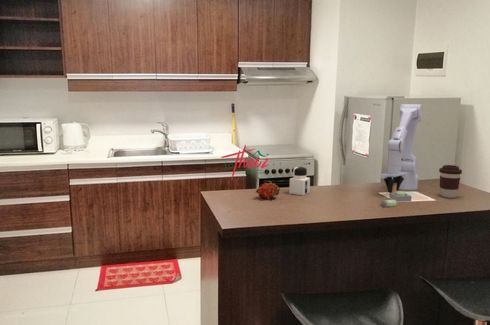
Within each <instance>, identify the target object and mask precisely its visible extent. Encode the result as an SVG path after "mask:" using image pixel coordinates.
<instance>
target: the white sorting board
mask: <svg viewBox="0 0 490 325" xmlns="http://www.w3.org/2000/svg"><path fill="white" fill-rule="evenodd" d="M404 192H405V196H398V195H396V193H390V195H389V192H388V191H387V192H379V194H380V195H382V196H384V197H386V198H388V200H396V202H397V203H407V202H430V201H432V202H434V201H437V200H436V199H435V198H433V197H429V196H427V195H425V194H422V193H420V192H418V191H416V190H415V191H414V190H413V191H412V190H409V191H404Z"/></svg>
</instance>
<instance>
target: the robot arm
mask: <svg viewBox="0 0 490 325" xmlns="http://www.w3.org/2000/svg"><path fill="white" fill-rule="evenodd" d="M423 111H424V110H423V105H422V104H421V103H419V104H415V103H413V104H412V103H409V104H408V103H402V104H400V106H399V115H400V116H399V117H400V121H399V125H398V126H397V127H396V128H395V130H394V132H393V134H392V137H391V139H389V140H388V141H387V147H386V148H387V154H388V160H387V161H388V166H387V172H385V173H380V175H379V176H380V179H382V180H383V181H384V182H385V185H386V191H387V192H390V193H392V187H393V183H394V182H396V183H397V189H396V191H412V190H413V191H414V190H418V189H419V188H418V187H419V186H418V185H419V175H418V174H417V173H416V172H417V170H418V158H417V157H416V156H415V155H414V154H413V152H414V147H415V146H414V145H415V138H416V133H417V127H418V126H417V125H418V123H419V122H421V121H422V118H423V117H422V116H423Z"/></svg>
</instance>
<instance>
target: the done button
mask: <svg viewBox="0 0 490 325" xmlns="http://www.w3.org/2000/svg"><path fill="white" fill-rule="evenodd" d="M405 192H406V191H405V190H398V191H396V195H398V196H405Z"/></svg>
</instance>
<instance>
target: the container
mask: <svg viewBox="0 0 490 325" xmlns="http://www.w3.org/2000/svg"><path fill="white" fill-rule="evenodd" d="M292 171H293V175H292V176H293V177H291V178H289V190H288V192H289V194H290V195H295V196H296V195H297V196H306V195H307V194H309V193H310V191H311V190H310V189H311V178H310V177H307V176H308V175H307V174H308V173H307V172H308V171H307V167H304V166H295V167H294V168H293V170H292Z"/></svg>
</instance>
